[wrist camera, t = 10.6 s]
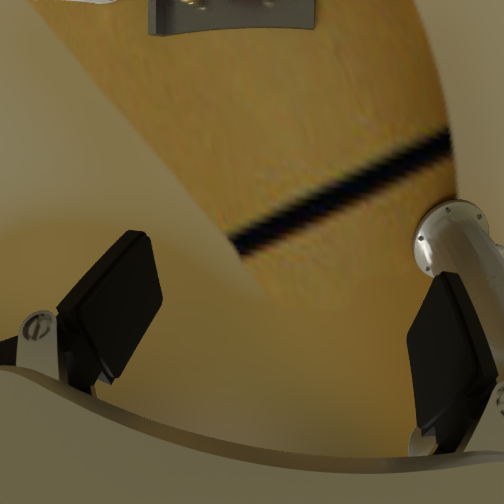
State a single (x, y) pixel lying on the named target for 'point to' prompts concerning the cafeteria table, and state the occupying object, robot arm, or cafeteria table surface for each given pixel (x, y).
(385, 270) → the cafeteria table surface
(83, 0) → the supplement tub
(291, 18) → the plate
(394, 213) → the cafeteria table surface
